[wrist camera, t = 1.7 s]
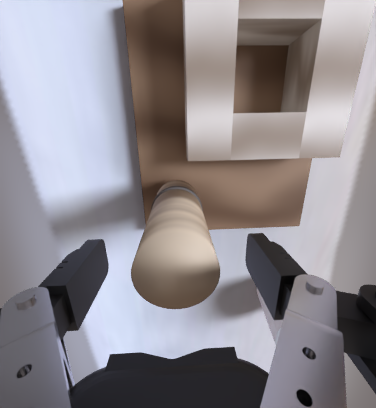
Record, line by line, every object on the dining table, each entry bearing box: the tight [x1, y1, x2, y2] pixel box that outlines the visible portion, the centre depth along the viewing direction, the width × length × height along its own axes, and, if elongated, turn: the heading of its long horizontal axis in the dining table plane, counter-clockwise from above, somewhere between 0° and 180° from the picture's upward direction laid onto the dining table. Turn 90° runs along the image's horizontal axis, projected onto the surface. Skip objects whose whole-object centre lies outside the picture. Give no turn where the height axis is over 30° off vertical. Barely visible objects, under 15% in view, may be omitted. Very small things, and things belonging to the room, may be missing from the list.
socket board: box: [123, 0, 376, 230], centre depth 17 cm, size 20×17×6 cm
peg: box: [131, 180, 220, 309], centre depth 15 cm, size 4×4×12 cm
